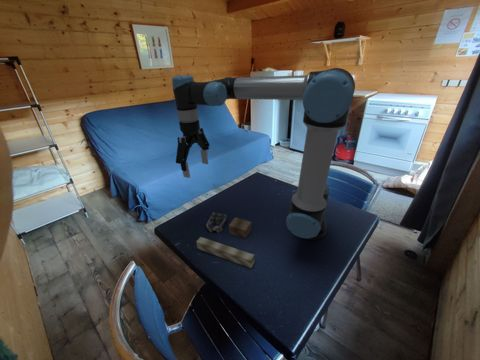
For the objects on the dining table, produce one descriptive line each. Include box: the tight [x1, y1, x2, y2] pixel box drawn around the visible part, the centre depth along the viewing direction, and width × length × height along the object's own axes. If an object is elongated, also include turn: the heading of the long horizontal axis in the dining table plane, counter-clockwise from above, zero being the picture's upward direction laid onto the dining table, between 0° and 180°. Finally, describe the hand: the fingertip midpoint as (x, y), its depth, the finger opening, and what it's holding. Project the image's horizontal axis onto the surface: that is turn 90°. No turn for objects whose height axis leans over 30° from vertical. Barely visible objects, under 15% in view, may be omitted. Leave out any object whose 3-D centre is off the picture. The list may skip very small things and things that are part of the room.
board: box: [195, 236, 255, 269], centre depth 88 cm, size 24×3×4 cm, turn 64°
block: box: [228, 217, 252, 240], centre depth 99 cm, size 8×6×5 cm
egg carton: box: [205, 211, 227, 234], centre depth 104 cm, size 11×8×4 cm
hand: (196, 169), depth 96 cm, fingers open, 13 cm apart
